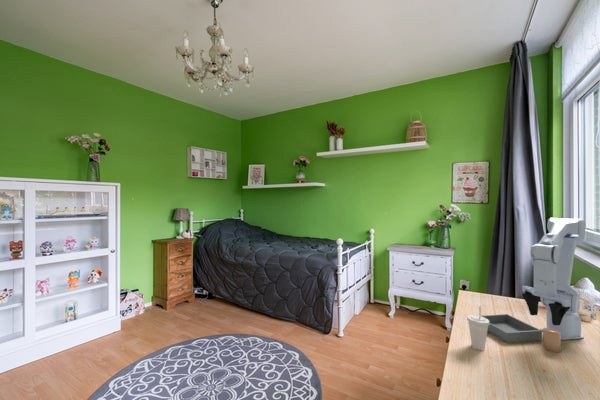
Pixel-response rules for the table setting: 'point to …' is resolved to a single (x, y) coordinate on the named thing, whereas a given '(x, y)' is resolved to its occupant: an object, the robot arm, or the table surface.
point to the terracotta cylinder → (552, 339)
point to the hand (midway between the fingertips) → (544, 319)
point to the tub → (512, 329)
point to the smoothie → (478, 330)
